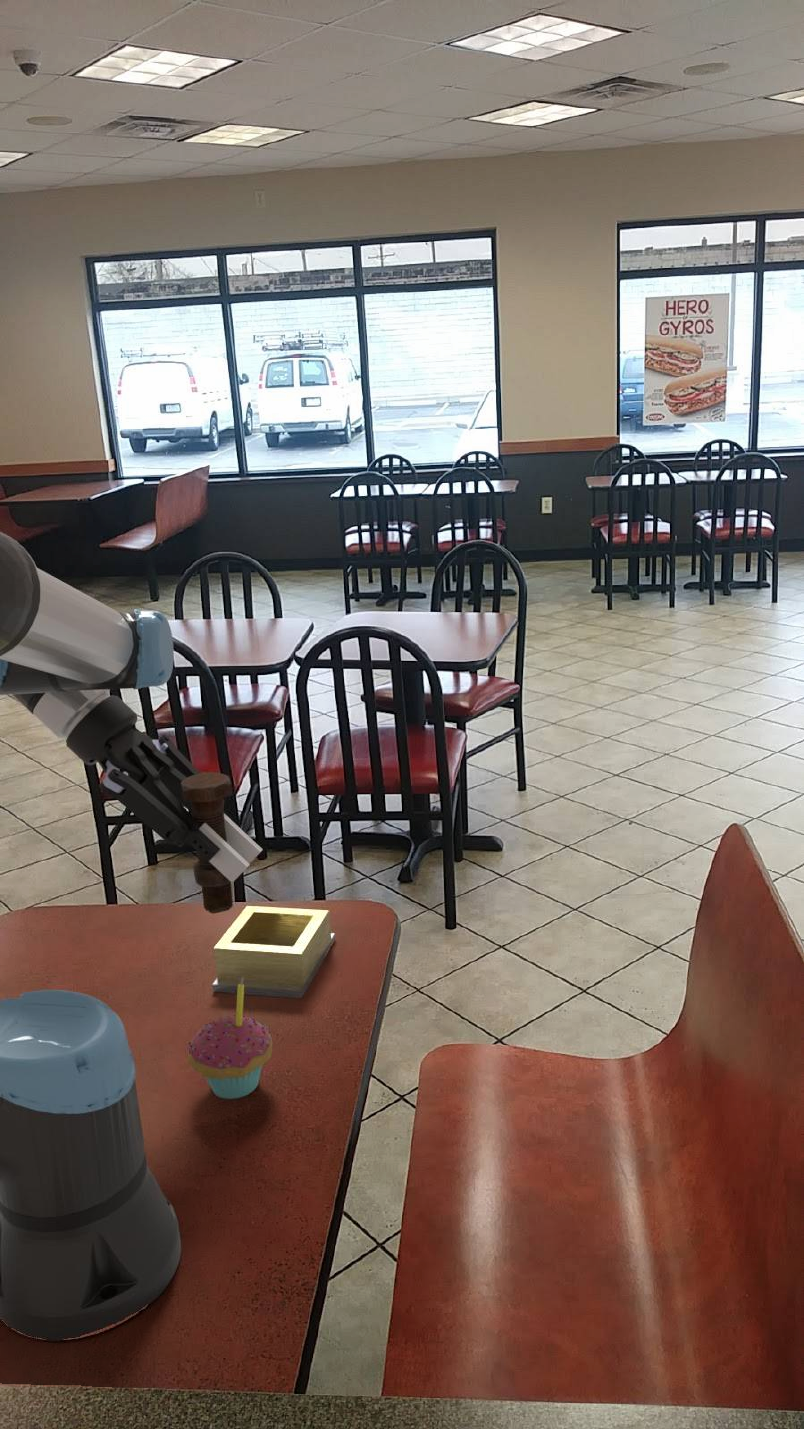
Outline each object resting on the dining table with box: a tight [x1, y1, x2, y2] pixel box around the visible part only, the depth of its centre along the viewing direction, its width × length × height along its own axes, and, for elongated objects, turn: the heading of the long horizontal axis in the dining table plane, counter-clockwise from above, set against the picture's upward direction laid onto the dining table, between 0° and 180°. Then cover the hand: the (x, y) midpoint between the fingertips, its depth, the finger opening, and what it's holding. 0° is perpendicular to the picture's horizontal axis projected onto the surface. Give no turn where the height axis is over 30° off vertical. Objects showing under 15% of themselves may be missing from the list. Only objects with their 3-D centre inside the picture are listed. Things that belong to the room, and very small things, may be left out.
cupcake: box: [187, 977, 273, 1100], centre depth 112 cm, size 9×8×12 cm
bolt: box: [180, 772, 234, 915], centre depth 120 cm, size 6×5×15 cm
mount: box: [212, 905, 336, 1000], centre depth 136 cm, size 14×11×5 cm
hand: (247, 865), depth 119 cm, fingers closed on bolt, 3 cm apart
